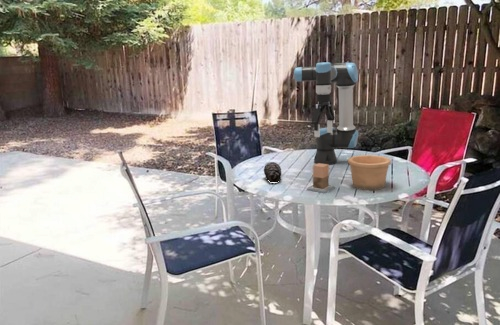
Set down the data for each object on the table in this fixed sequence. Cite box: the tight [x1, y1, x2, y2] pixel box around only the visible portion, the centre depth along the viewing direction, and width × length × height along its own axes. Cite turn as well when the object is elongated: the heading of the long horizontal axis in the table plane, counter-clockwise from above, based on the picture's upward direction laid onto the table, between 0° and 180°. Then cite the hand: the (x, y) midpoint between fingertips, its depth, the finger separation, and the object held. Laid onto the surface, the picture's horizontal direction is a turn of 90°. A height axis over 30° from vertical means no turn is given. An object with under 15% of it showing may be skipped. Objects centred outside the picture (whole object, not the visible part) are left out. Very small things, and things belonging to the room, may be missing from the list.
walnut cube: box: [312, 176, 330, 189], centre depth 217 cm, size 6×6×6 cm
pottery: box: [347, 154, 392, 191], centre depth 218 cm, size 22×22×14 cm
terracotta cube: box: [312, 163, 330, 178], centre depth 215 cm, size 6×6×6 cm
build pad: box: [306, 184, 336, 194], centre depth 217 cm, size 11×11×1 cm
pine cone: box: [263, 161, 282, 183], centre depth 237 cm, size 10×18×10 cm, turn 10°
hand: (323, 134), depth 213 cm, fingers open, 13 cm apart
